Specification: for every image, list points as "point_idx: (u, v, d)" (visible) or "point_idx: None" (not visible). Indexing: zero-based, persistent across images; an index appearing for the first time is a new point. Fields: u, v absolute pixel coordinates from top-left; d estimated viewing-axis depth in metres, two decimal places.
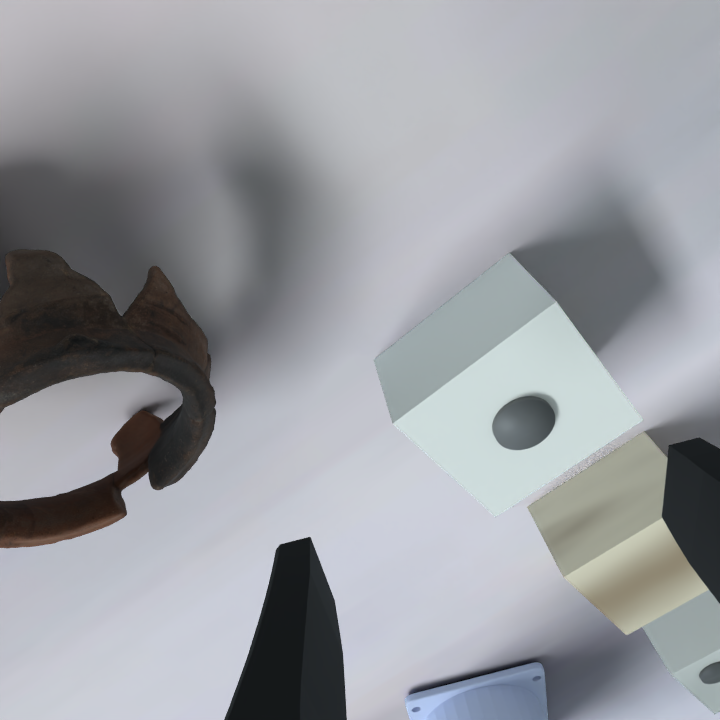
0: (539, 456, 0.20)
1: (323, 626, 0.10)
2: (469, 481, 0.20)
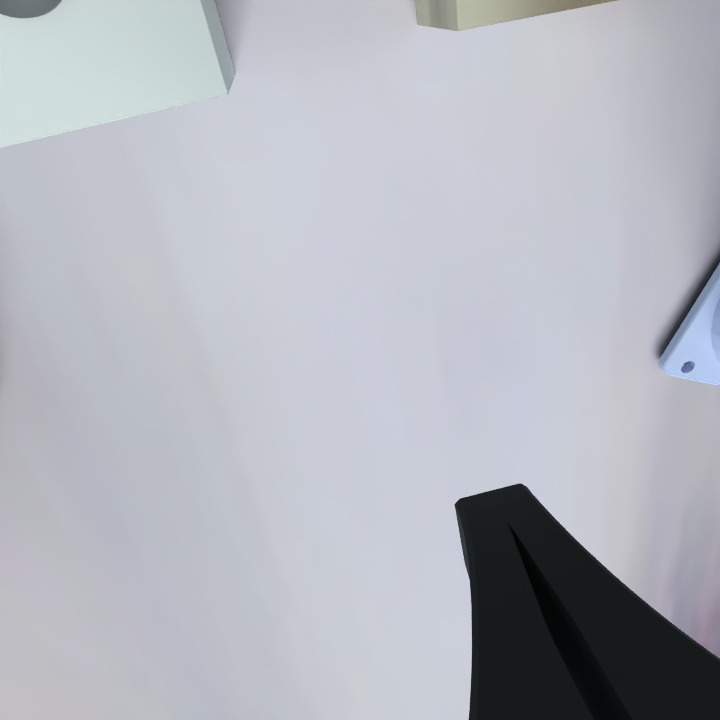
0: None
1: None
2: (118, 101, 0.12)
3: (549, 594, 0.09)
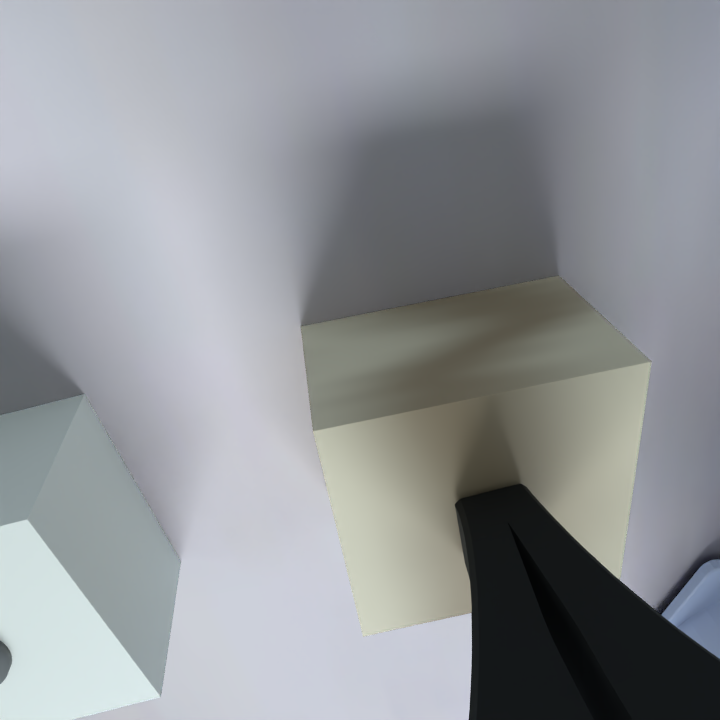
0: (48, 646, 0.12)
1: None
2: (61, 713, 0.13)
3: (549, 594, 0.09)
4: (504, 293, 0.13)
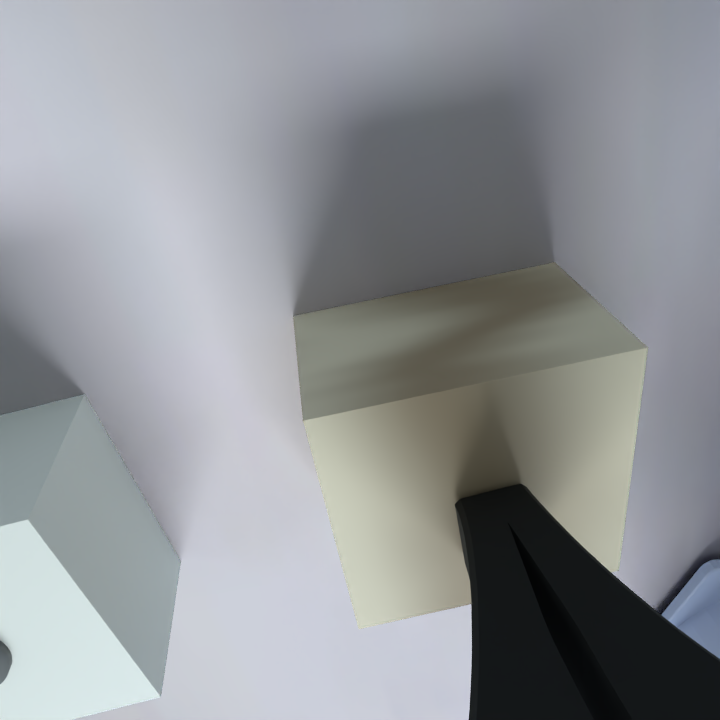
0: (49, 646, 0.12)
1: None
2: (61, 713, 0.13)
3: (549, 594, 0.09)
4: (499, 281, 0.13)
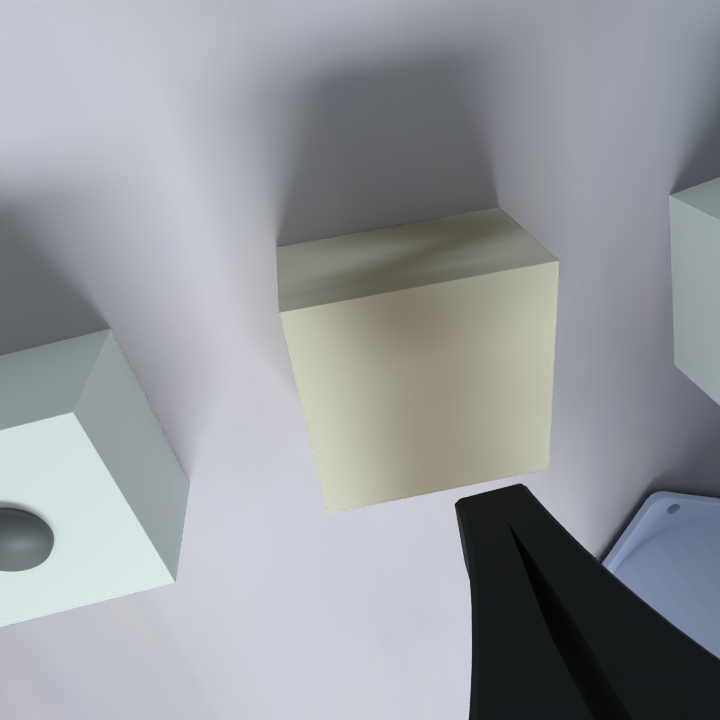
0: (84, 529, 0.14)
1: None
2: (92, 595, 0.16)
3: (549, 594, 0.09)
4: (450, 220, 0.15)
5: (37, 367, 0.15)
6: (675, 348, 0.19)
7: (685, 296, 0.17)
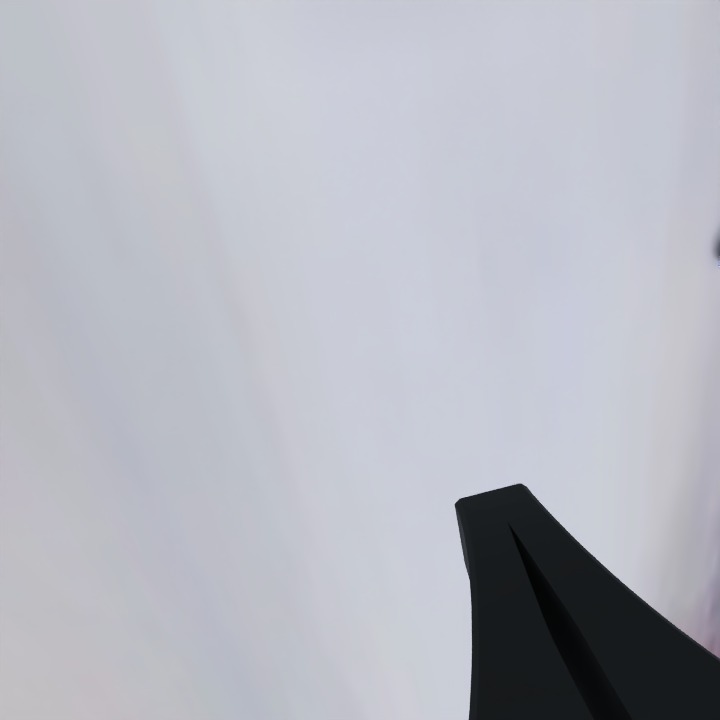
0: None
1: None
2: None
3: (549, 594, 0.09)
4: None
5: None
6: None
7: None
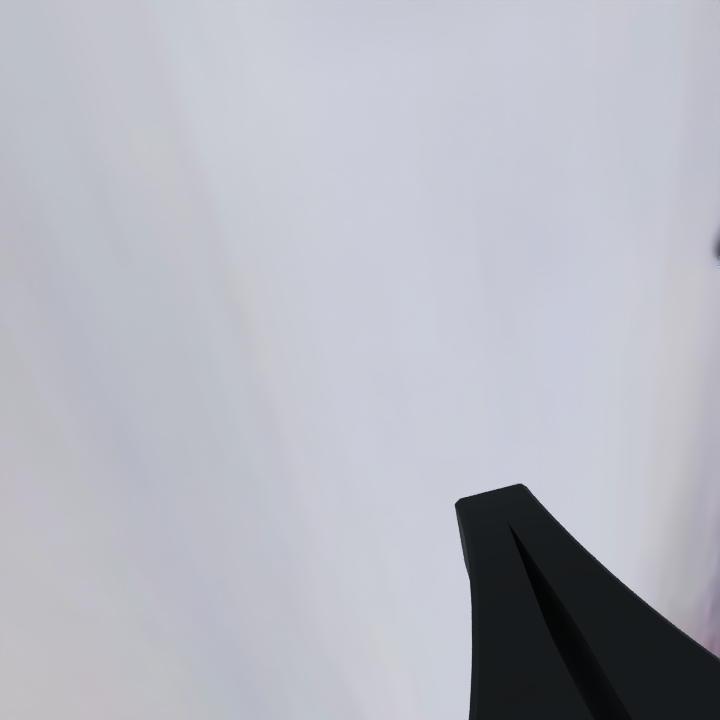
0: None
1: None
2: None
3: (549, 594, 0.09)
4: None
5: None
6: None
7: None
